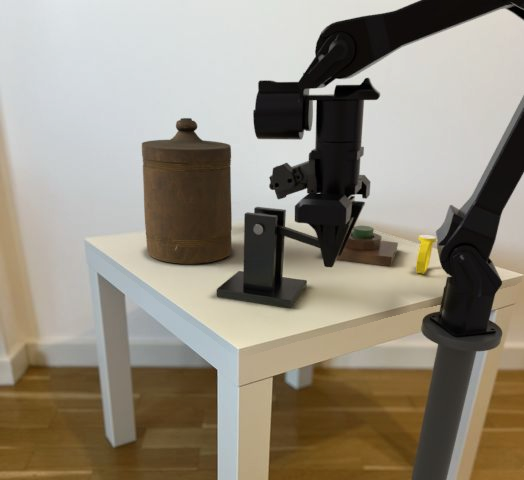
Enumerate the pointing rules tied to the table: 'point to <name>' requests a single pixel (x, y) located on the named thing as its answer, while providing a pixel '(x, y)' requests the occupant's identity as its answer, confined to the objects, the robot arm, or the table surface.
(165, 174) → the wooden container
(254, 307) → the table surface
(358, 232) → the button
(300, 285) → the bracket
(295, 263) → the table surface
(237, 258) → the table surface
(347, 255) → the button box
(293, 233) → the lever
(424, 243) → the watch
